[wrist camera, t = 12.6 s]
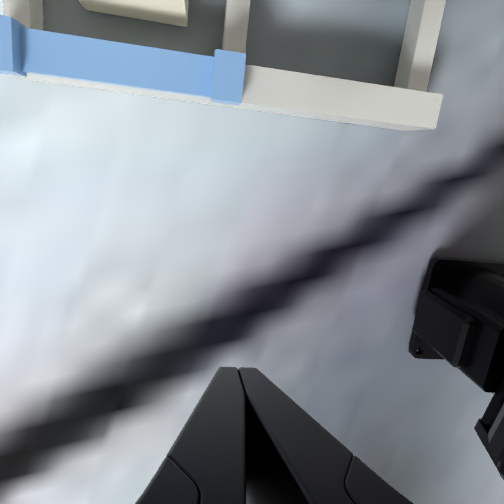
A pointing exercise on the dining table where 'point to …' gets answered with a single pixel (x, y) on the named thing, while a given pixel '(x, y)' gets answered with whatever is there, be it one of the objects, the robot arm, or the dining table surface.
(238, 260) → the dining table surface
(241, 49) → the white post rack
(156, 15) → the cream rectangular block
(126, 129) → the dining table surface
